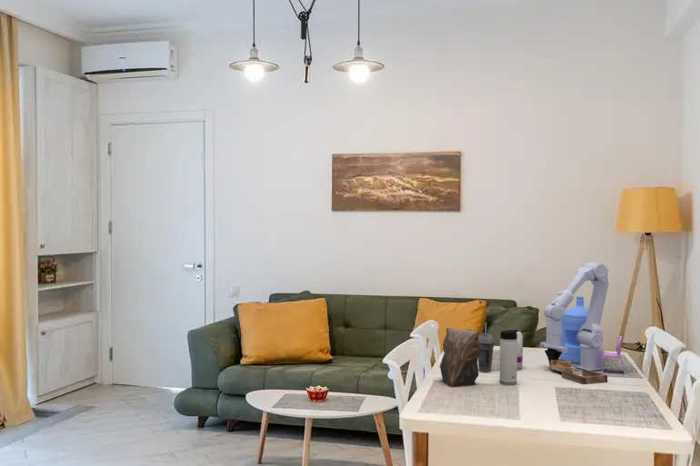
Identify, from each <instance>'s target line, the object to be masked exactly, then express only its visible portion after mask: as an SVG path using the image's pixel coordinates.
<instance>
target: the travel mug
mask: <svg viewBox="0 0 700 466" xmlns="http://www.w3.org/2000/svg"><path fill="white" fill-rule="evenodd" d="M517 332H519V330H518V329H506V330H501V331H500V332H499V336H500V338H499V383H500V384H502V385H504V386H505V385H506V386H513V385H516V384H518V381H517V379H518V377H517V376H518V370H517Z"/></svg>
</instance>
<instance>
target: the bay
mask: <svg viewBox="0 0 700 466" xmlns="http://www.w3.org/2000/svg"><path fill="white" fill-rule="evenodd" d="M561 378H562V379H564V380H568V381H571V382H573V383H574V382H575V383H578V384H582V385H590V384H592V385H593V384H598V383H599V384H600V383H608V375H607V374H604V373H600V372H597V371H594V370H592V371H590V370H586V369H581V375H579V374H575V373H569V372H566V371H562V372H561Z"/></svg>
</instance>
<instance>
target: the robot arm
mask: <svg viewBox="0 0 700 466" xmlns="http://www.w3.org/2000/svg"><path fill="white" fill-rule="evenodd" d="M608 274H609V269H608V267H607V266H606V265H605V264H604V262H603V263H602V262H592V261H585V262H583V263H582V264H581V266H580V267H579V268H578V271H577V273H576V275H575V276H574V278H573V279H572V280H571V282H570V283H569V285H568V286H567V288H566V289H563V290H560V291H558V293H557V296H556V297H555V298H554V300H552V301H551V303H550V304H548V305H547V306H546V307H545V308H544V310H543V315H544V317H545V321H546V326H545V327H546V329H545V330H546V331H545V332H546V335H545V336H546V338H545V340H546V341H542V342H539V347H540V348H544V349H545V350H544V352H545V355H546V357H547V360H548V364H549V367H550V369H551V360H557V359H560V358H561V354H562V353H567V348H566V347H563V346H561V319H562V318H563V317H564V314H565V311H566V309H567V308H568V307H569V306H570V304H571V303H572V301H573V300H574V299H575V298H574V295H575V294H576V292H577V291H578V290H579V289H580V288H581V287H582V286H583V285H584V283H585V282H589V281H590V283H591V284H592V286H593V288H592V293H591V298H590V302H589V307H588V309H589V310H588V315H587V319H586V323H585V324H583V325H582V326H581V330H580V331H579V333H578V335H577V340H578V342H579V343H580V346H581V356H580V364H579V365H576V366H575V368H578V369H580V370H582V369H586V370H590V371H600V370H601V371H603V370H602V356H603V355H604V352H605V349H604V348H603V347H601V346H602V345H603V344H604V343H603V341H604V337H603V332H604V331H603V329H602V327H601V326H600V325H601V320H602V316H603V312H604V307H605V302H606V299H607V293H608V288H609V278H608ZM591 331H592V332H591ZM603 369H604V370H607V367H606V358H604V359H603Z"/></svg>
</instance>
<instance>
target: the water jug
mask: <svg viewBox="0 0 700 466" xmlns="http://www.w3.org/2000/svg"><path fill="white" fill-rule="evenodd" d="M575 298H576V300H575V306H574V307H571V308H569V309H567V310H566V309H565V314H564V317H563V318H562V319H561V346H563V347H566V348H567V353H562V354H561V355H560V359H562V360H565V361H569V362H571V364H578V365H580V356H581V346H580V343H579V342H578V340H577V335H578V333H579V331H580V330H581V326H582V325H583V324H585V323H586V319H587V315H588V310H589V308H587V307H586V306H584V303H585V301H584V298H585V297H584V296H576V297H575ZM591 332H592V331H591Z"/></svg>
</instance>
